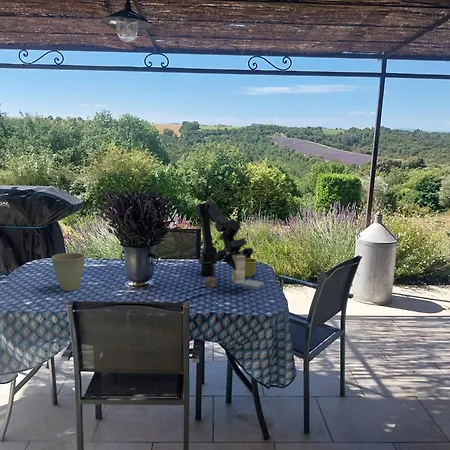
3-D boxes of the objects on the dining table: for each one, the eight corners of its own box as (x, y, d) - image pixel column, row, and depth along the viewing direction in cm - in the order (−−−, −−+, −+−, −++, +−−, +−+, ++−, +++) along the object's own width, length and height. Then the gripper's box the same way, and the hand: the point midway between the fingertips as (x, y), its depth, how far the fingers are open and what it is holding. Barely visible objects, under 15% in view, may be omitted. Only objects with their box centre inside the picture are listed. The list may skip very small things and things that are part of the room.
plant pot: (70, 282, 226) (69, 251, 224) (92, 287, 219) (91, 255, 217) (45, 290, 213) (44, 257, 211) (68, 295, 206) (67, 261, 204)
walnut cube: (205, 286, 225) (205, 279, 225) (207, 284, 229) (207, 277, 229) (213, 287, 224) (213, 279, 224) (215, 285, 228) (215, 277, 228)
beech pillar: (231, 281, 218) (232, 254, 216) (239, 280, 220) (240, 254, 218) (236, 283, 214) (237, 256, 212) (244, 282, 216) (245, 256, 214)
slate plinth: (240, 286, 226) (240, 284, 226) (247, 282, 234) (248, 279, 234) (257, 289, 222) (257, 286, 222) (264, 285, 230) (264, 282, 230)
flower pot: (254, 278, 242) (254, 262, 240) (238, 277, 244) (238, 261, 242) (256, 274, 250) (257, 258, 249) (240, 273, 252) (241, 257, 251)
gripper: (218, 233, 212) (228, 261, 205) (252, 231, 221) (263, 258, 213) (210, 246, 221) (220, 274, 213) (243, 244, 229) (254, 270, 221)
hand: (239, 269), depth 215 cm, fingers closed on beech pillar, 4 cm apart
